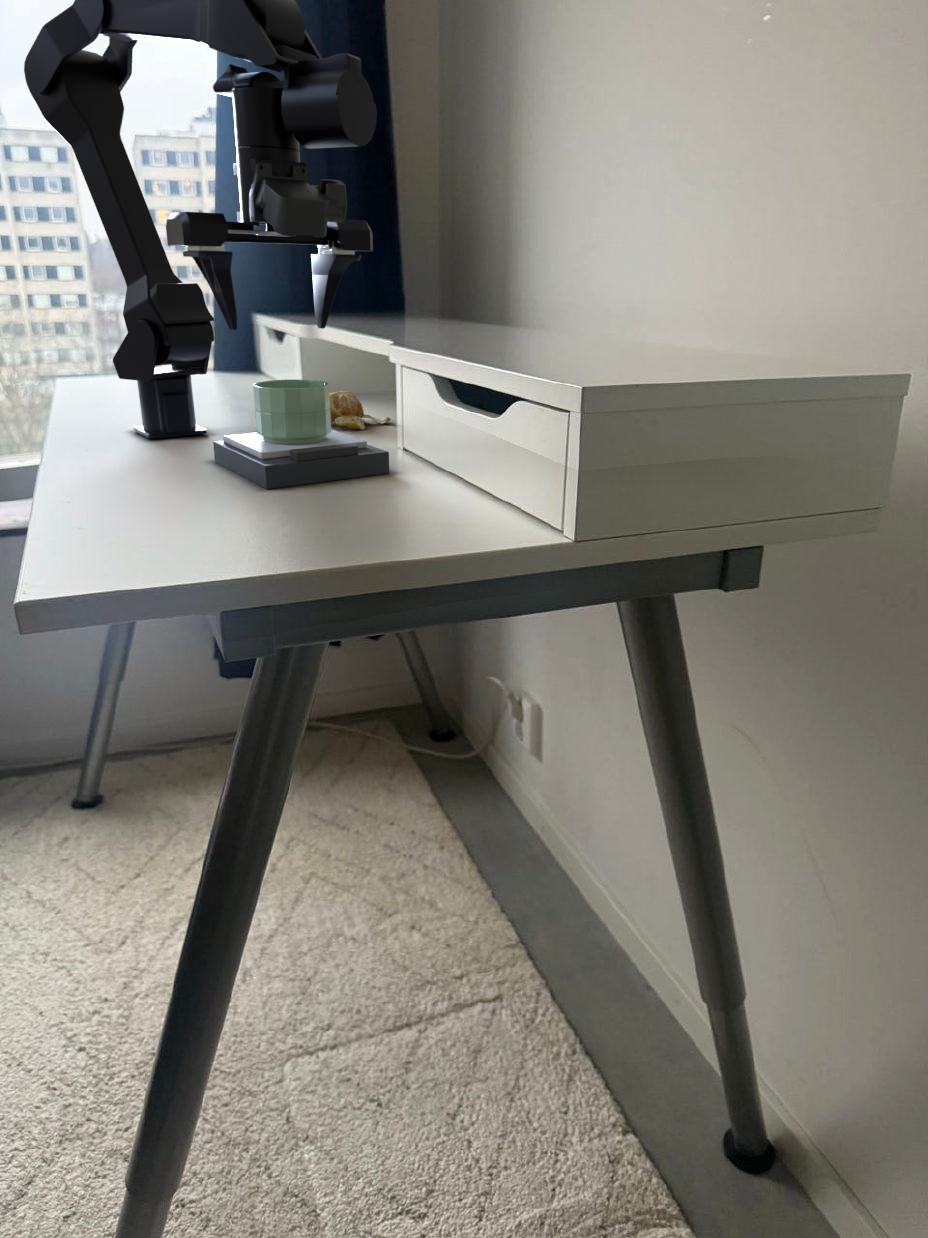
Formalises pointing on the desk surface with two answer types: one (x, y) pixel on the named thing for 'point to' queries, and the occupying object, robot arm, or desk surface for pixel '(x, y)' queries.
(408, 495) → the desk surface
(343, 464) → the scale
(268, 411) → the bowl
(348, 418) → the fruit
